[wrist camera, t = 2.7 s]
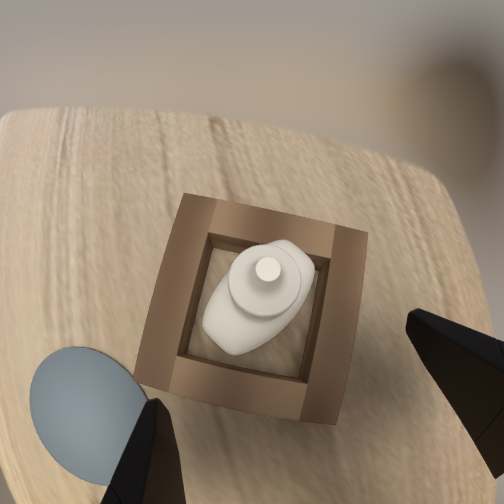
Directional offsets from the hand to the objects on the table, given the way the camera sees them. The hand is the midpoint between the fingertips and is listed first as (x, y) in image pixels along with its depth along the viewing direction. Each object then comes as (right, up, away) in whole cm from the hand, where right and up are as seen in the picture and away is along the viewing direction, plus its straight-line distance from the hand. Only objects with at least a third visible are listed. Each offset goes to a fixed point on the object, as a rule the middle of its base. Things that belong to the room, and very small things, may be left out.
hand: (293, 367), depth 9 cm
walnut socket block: (-1, 0, +11) cm, 11 cm away
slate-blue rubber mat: (-13, -8, +8) cm, 18 cm away
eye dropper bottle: (-1, 0, +11) cm, 11 cm away
